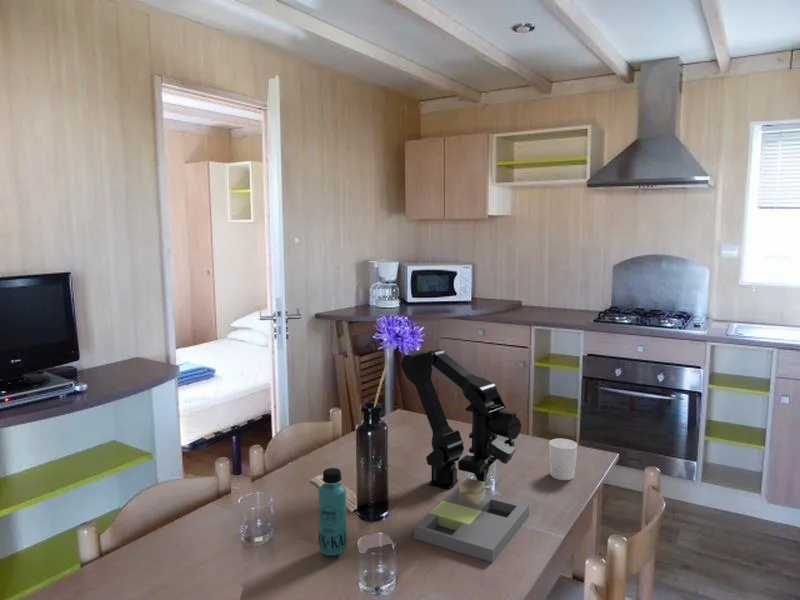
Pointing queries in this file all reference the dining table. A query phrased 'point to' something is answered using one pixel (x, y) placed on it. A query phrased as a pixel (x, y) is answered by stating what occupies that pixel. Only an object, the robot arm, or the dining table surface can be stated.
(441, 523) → the trap deck
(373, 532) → the dining table surface
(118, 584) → the dining table surface
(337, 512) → the beverage bottle
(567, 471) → the white cup
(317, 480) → the newspaper
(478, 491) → the maple block
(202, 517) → the dining table surface
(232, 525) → the dining table surface
